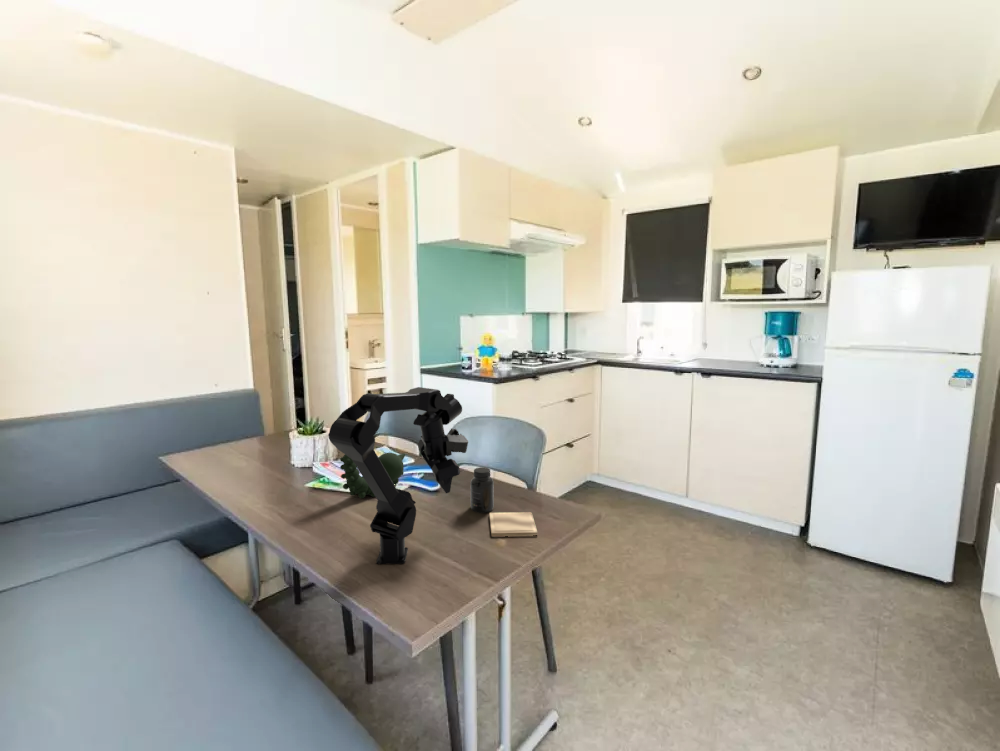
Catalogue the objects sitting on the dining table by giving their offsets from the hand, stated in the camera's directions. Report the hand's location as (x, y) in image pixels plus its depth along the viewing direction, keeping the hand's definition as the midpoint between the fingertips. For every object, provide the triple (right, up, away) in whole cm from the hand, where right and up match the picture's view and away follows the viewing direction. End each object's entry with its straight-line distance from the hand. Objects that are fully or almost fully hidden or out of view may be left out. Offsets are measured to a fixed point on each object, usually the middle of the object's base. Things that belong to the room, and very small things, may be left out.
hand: (442, 483), depth 128 cm
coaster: (+19, -12, +1) cm, 22 cm away
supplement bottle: (+10, -10, +12) cm, 19 cm away
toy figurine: (-24, -8, +23) cm, 34 cm away
